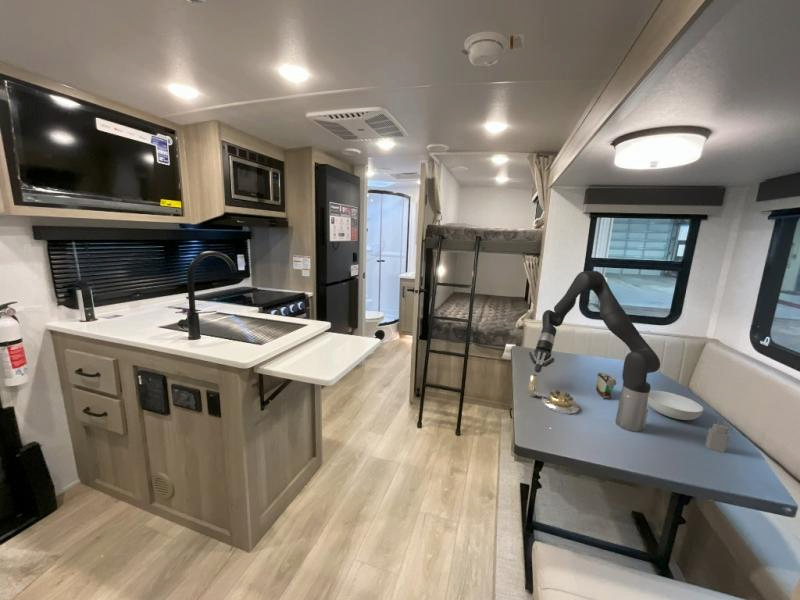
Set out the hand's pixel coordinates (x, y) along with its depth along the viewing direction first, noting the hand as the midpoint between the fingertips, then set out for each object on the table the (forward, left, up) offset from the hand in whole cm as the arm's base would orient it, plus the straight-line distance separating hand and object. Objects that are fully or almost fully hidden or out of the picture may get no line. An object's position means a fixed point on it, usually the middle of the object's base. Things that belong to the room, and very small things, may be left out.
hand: (537, 371), depth 165 cm
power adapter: (-54, +42, -11) cm, 69 cm away
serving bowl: (-58, +16, -11) cm, 61 cm away
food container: (-36, +1, -11) cm, 38 cm away
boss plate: (-6, +14, -10) cm, 18 cm away
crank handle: (-2, +11, -9) cm, 14 cm away
